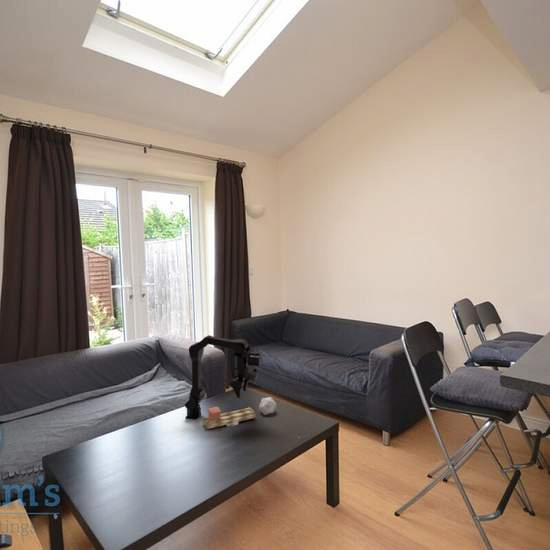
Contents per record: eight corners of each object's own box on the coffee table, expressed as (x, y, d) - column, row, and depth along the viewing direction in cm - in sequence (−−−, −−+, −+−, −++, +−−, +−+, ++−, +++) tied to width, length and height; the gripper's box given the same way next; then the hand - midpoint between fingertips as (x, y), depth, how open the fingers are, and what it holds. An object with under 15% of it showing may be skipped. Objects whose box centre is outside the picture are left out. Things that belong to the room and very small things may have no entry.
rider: (211, 423, 179) (211, 413, 179) (208, 418, 184) (207, 408, 184) (221, 421, 181) (220, 411, 181) (217, 416, 187) (217, 406, 186)
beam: (208, 431, 176) (207, 424, 176) (202, 423, 185) (202, 416, 185) (256, 420, 188) (256, 412, 188) (248, 412, 197) (248, 405, 197)
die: (255, 414, 196) (260, 404, 190) (260, 401, 203) (264, 391, 197) (270, 420, 196) (275, 410, 190) (274, 406, 203) (279, 396, 197)
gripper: (250, 371, 174) (251, 403, 175) (261, 360, 192) (261, 389, 193) (229, 370, 177) (229, 401, 178) (242, 359, 195) (242, 387, 196)
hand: (241, 394), depth 186 cm, fingers open, 9 cm apart
